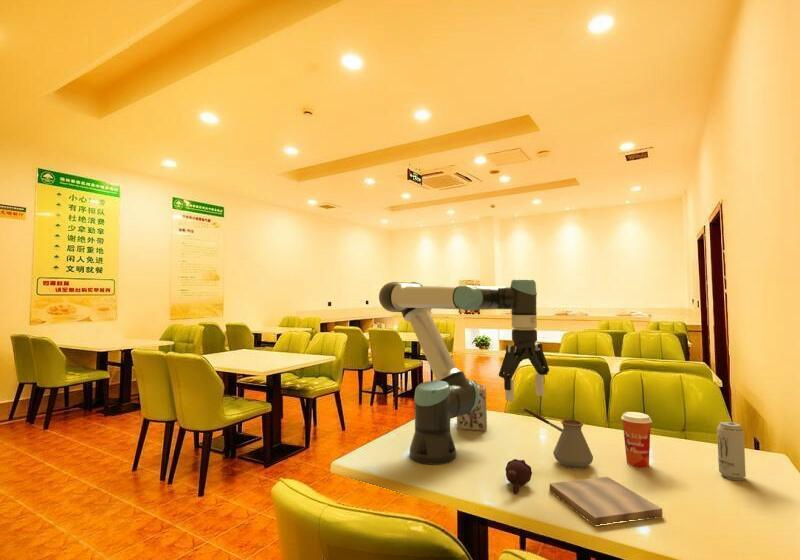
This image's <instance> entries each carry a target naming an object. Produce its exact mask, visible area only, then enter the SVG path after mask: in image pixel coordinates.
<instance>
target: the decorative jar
mask: <svg viewBox="0 0 800 560" xmlns="http://www.w3.org/2000/svg"><path fill="white" fill-rule="evenodd" d="M470 380H471V381H473V382H474V383H475V384H476V385H477V387H478V390H479V395H480V398H479V402H478V405H477V407H476V408H475V409H474V410H473V411H471V412H469V413H467V414H465V415H460V416H457V417H456V430H459V429H464V431H479V432H487V430H488V429H487V428H488V425H487V423H488V421H487V420H488V419H487V418H488V417H487V415H488V414H487V388H486V386H485V385H482V384H479V383H478V381H476V380H472V379H470Z"/></svg>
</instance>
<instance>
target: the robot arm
mask: <svg viewBox="0 0 800 560" xmlns="http://www.w3.org/2000/svg"><path fill="white" fill-rule="evenodd" d="M378 293H379V294H378V301H379V304H380V305H381V307H382V308H383V309H385V310H386V311H387V312H392V313H401V315H402V317H403V319H404V320H405V322H408V323H410V325H411V327H412V329H413V332H414V334H415V337H416V339H417V340H418V343H419V345H420V347H421V349H422V352H423V354H424V356H425V358H426V361H427V362H428V365H429V368H431V372H432V374H433V375H434V378H435V380H431V381H430V380H428V381H423V382H421V383H419V384H418V385H417V386H416V387H415V389H414V390H415V391H414V397H413V399H414V400H413V401H414V434H413V436H412V437H413V438H412V441H411V443H410V446H409V457H410V459H412V460H413V461H414V462H418V463H420V464H426V465H444V464H449V463H451V462H453V461H454V460H456V458H457V450H456V449H457V448H456V445H455V442H454V440H453V437H452V433H451V419H454V418H457V416H460V415H465V414H467V413H469V412H471V411H473V410H474V409H475V408H476V407H477V405H478V402H479V398H480V395H479V390H478V387H477V385H476V384H475V383H474V382H473V381H474V380H472V379H469V378H467V377H466V375H465V373H464V371H463V370H461V369H458V368H457V366H456V364H455V361H454V359H453V357H452V356H451V353H450V352H449V350H448V347H447V345H446V343H445V341H444V340H443V337H442V335H441V333H440V331H439V329H438V327H437V325H436V322H435V320H434V317H433V316H432V314H431V311H432V309H433V310H434V309H436V310H437V309H442V310H443V309H444V310H464V311H479V310H481V311H483V310H484V311H485V310H511V327H512V328H513V329H512V330H511V341H512V342H513V345H508V344H507V345H506V347H505V353H504V356H503V360H502V363H501V366H500V369H499V373H498V376H499V378H501V379H503V385H504V386H503V388H504V390H505V401H507V402H511V403H514V402H515V379H514V378H513V376H514V375H515V373H516V372H517V369H518V367H519V365H520V364H521V362H523V360H529V361H530V364H531V365H532V367H533V368H534V369H535V372H536V373H535V375H534V376H535V379H534V381H535V391H534V392H535V395H537V396H540V397H544V396H545V376H547V375H548V374H549V372H550V367H549V364H548V362H547V358H546V357H545V353H544V350H543V344H542V343H540V342H537V341H538V330H537V329H536V328H537V327H538V326H537V325H538V324H537V323H538V322H537V319H538V318H537V315H538V314H537V295H538V292H537V283H536V281H535V280H534V279H533V278H532V279H531V278H527V279H526V278H521V279H520V278H518V279H512V280H511V282H510V285H507V286H505V285H504V286H503V285H500V286H499V285H498V286H497V285H495V286H494V285H493V286H492V285H473V284H465V285H425V284H423V283H421V282H420V283H419V282H415V281H412V282H405V281H404V282H402V281H401V282H400V281H392V282H388V283H385V284H384V285H383V286H382V288H381V289H380V290H379V292H378ZM471 380H472V381H471Z"/></svg>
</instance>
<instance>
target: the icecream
mask: <svg viewBox="0 0 800 560" xmlns="http://www.w3.org/2000/svg"><path fill="white" fill-rule="evenodd" d="M532 475H533V471H532V466H530V465H529V464H527V463H526V460H525V459H517V458H513V459H512V460H510V461H508V462H507V464H506V467H505V477H506V480H507V481H508V482H509V483H510V484H512V493H513V495H518V493H519V492H520V487H522V486H523V487H524V486H525V485H526V484H528V482H530V481H531V479H532Z"/></svg>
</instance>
